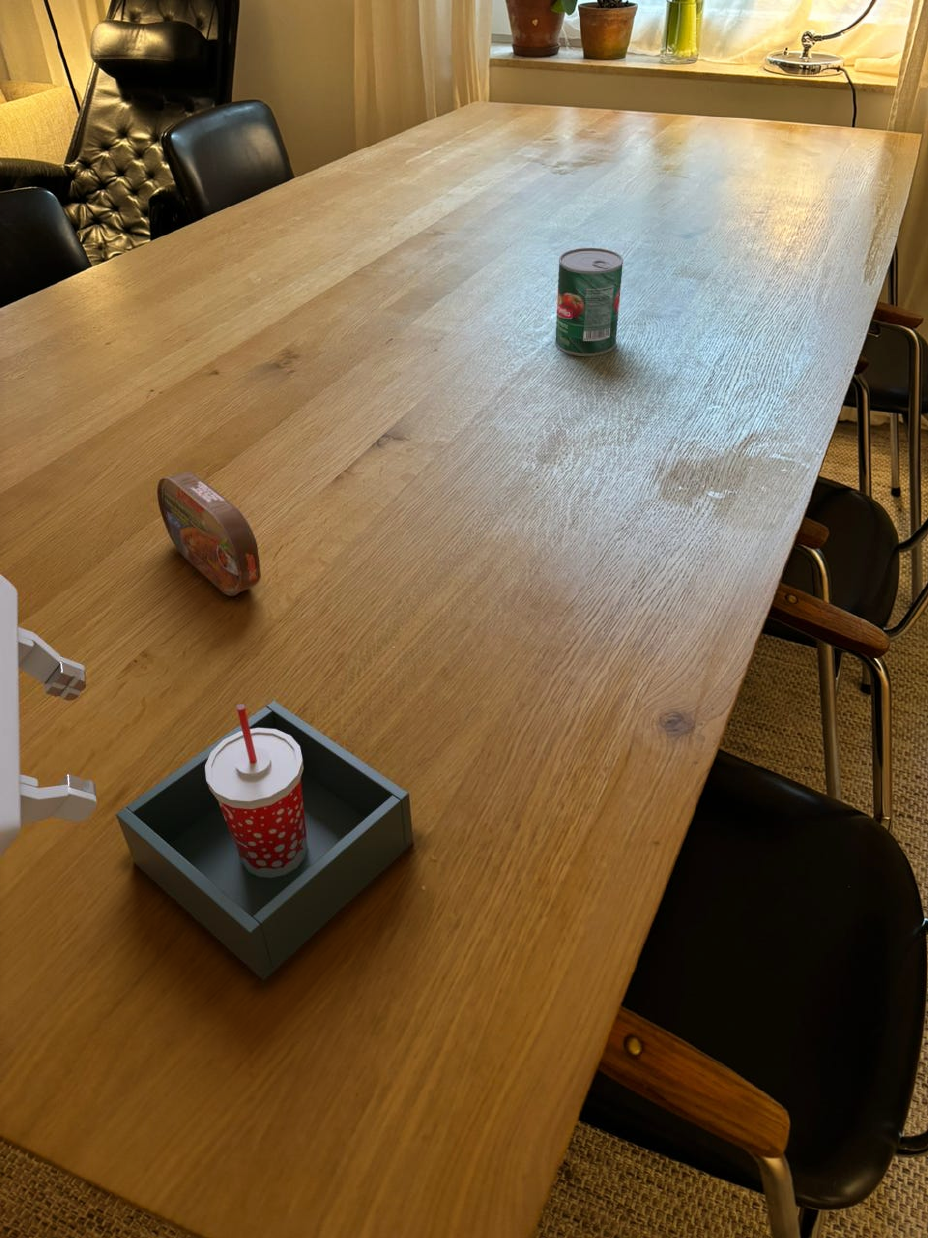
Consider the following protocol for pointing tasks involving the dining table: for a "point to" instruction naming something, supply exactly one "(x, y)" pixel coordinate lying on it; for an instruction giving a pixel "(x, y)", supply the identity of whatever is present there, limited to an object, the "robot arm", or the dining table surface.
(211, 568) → the tin
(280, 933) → the bin
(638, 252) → the dining table surface
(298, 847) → the beverage cup
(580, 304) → the canned tomato
